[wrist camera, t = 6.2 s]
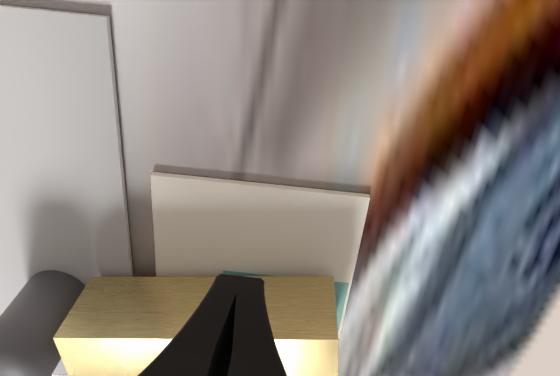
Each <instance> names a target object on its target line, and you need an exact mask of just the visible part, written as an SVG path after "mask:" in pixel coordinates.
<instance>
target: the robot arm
mask: <svg viewBox="0 0 560 376" xmlns="http://www.w3.org/2000/svg"><path fill="white" fill-rule="evenodd" d="M138 376H287V374H286V371H285V369H284V366H283V363H282V361H281V358H280V355H279V352H278V349H277V347H276V343H275V340H274V337H273V333H272V329H271V326H270V322H269V318H268V313H267V308H266V302H265V294H264V281H263V280H262V279H261V278H254V277H245V276H235V275H225V274H219V275H218V276H216V278H215V280H214V282H213V284H212V286H211V287H210V289H209V291H208V292H207V294H206V296H205V297H204V299H203V300H202V301H201V303H200V304H199V306H198V307H197V309H196V310H195V311H194V313H193V314H192V315H191V317H190V318H189V319H188V321H187V322H186V323H185V325H184V326H183V327H182V328H181V330H180V331H179V332H178V333H177V334H176V336H175V337H174V338H173V339H172V340H171V341H170V343H169V344H168V345H167V346H166V347H165V348H164V349H163V351H162V352H161V353H160V354H159V355H158V356H157V357H156V358H155V359H154V360H153V361H152V362H151V363H150V364H149V365H148V366H147V367H146V368H145V369H144V370H143V371H142V372H141V373H140V374H139V375H138Z"/></svg>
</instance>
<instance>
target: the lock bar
mask: <svg viewBox="0 0 560 376" xmlns="http://www.w3.org/2000/svg"><path fill="white" fill-rule="evenodd" d="M245 277H254V278H261V279H262V280H263V281H264V294H265V302H266V308H267V313H268V318H269V322H270V326H271V329H272V333H273V337H274V340H275V343H276V347H277V349H278V352H279V355H280V358H281V361H282V363H283V366H284V369H285V371H286V374H287V376H338V345H339V339H338V326H337V312H336V299H335V286H334V276H245ZM215 278H216V276H206V277H91V278H90V280H89V282H88V283H87V285H86V286H85V288H84V290H83V291H82V293H81V294H80V296H79V297H78V299H77V301H76V302H75V304H74V305H73V307H72V309H71V310H70V312H69V313H68V315H67V316H66V318H65V320H64V321H63V323H62V324H61V326H60V328H59V329H58V331H57V332H56V334H55V336H54V337H53V339H54V342H55V344H56V347H57V349H58V351H59V354H60V356H61V359H62V361H63V364H64V366H65V368H66V371H67V373H68V376H138V375H139V374H140V373H141V372H142V371H143V370H144V369H145V368H146V367H147V366H148V365H149V364H150V363H151V362H152V361H153V360H154V359H155V358H156V357H157V356H158V355H159V354H160V353H161V352H162V351H163V349H164V348H165V347H166V346H167V345H168V344H169V343H170V341H171V340H172V339H173V338H174V337H175V336H176V334H177V333H178V332H179V331H180V330H181V328H182V327H183V326H184V325H185V323H186V322H187V321H188V319H189V318H190V317H191V315H192V314H193V313H194V311H195V310H196V309H197V307H198V306H199V304H200V303H201V301H202V300H203V299H204V297H205V296H206V294H207V292H208V291H209V289H210V287H211V286H212V284H213V282H214V280H215Z"/></svg>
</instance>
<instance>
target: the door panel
mask: <svg viewBox="0 0 560 376" xmlns="http://www.w3.org/2000/svg"><path fill="white" fill-rule="evenodd" d="M150 180H151V197H152V214H153V230H154V247H155V264H156V277H206V276H218V275H219V274H225V275H235V276H334V286H335V299H336V312H337V326H338V339H339V338H340V334H341V329H342V324H343V320H344V315H345V311H346V306H347V302H348V297H349V292H350V288H351V283H352V279H353V274H354V269H355V265H356V260H357V256H358V251H359V247H360V242H361V237H362V233H363V228H364V224H365V219H366V215H367V210H368V205H369V201H370V195H369V194H362V193H353V192H343V191H333V190H324V189H314V188H305V187H295V186H285V185H276V184H266V183H256V182H247V181H237V180H228V179H218V178H208V177H199V176H189V175H179V174H170V173H160V172H152V173H151V175H150ZM91 277H133V266H132V255H131V244H130V234H129V223H128V212H127V201H126V190H125V179H124V168H123V158H122V147H121V136H120V125H119V114H118V103H117V92H116V82H115V71H114V60H113V49H112V38H111V27H110V16H108V15H98V14H88V13H78V12H69V11H59V10H49V9H40V8H30V7H20V6H10V5H1V4H0V376H51V375H52V374H54V375H64V376H68V373H67V371H66V368H65V366H64V364H63V361H62V359H61V356H60V354H59V351H58V349H57V347H56V344H55V342H54V339H53V337H54V336H55V334H56V332H57V331H58V329H59V328H60V326H61V324H62V323H63V321H64V320H65V318H66V316H67V315H68V313H69V312H70V310H71V309H72V307H73V305H74V304H75V302H76V301H77V299H78V297H79V296H80V294H81V293H82V291H83V290H84V288H85V286H86V285H87V283H88V282H89V280H90V278H91Z"/></svg>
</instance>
